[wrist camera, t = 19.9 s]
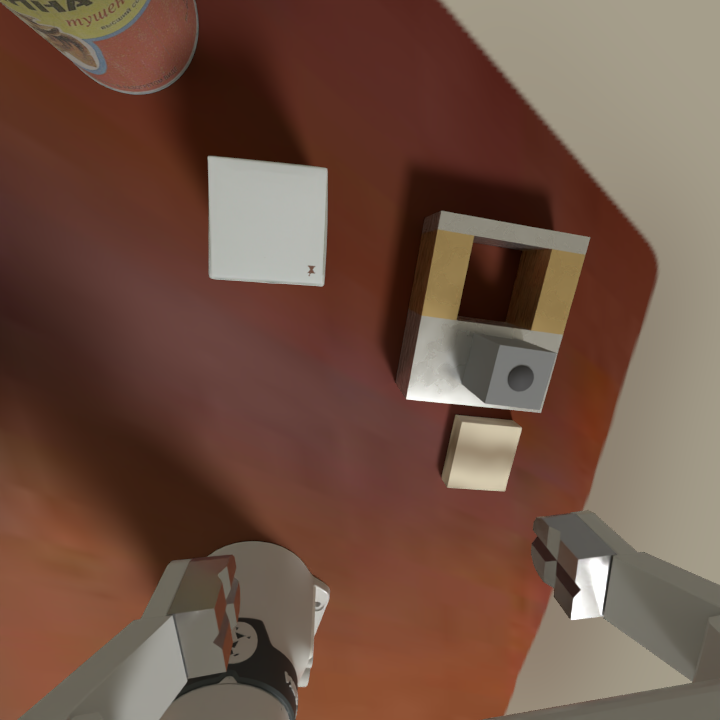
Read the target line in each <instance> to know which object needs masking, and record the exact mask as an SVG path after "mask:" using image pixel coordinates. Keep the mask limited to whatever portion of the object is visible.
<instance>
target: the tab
mask: <svg viewBox="0 0 720 720" xmlns="http://www.w3.org/2000/svg"><path fill="white" fill-rule="evenodd" d="M521 430H522V427H521V426H519V425H518V424H517V423H516V422H514V421H513V420H505V419H495V418H484V417H474V416H463V415H455V419H454V423H453V428H452V432H451V437H450V441H449V446H448V450H447V455H446V459H445V464H444V468H443V473H442V477H441V478H442V480H443V481H444V483H445V485H446V486H447V488H461V489H477V490H492V491H505V489H506V485H507V481H508V478H509V474H510V470H511V466H512V463H513V459H514V455H515V452H516V448H517V444H518V441H519V437H520V433H521Z"/></svg>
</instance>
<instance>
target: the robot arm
mask: <svg viewBox="0 0 720 720" xmlns="http://www.w3.org/2000/svg"><path fill="white" fill-rule="evenodd" d="M533 531H534V532H535V533H536V535H537V537H536V539H535V540H534V541H533V543H532V548H531V555H532V560H533V564H534V567H535V569H536V571H537V573H538V575H539V576H540V577H541V579H542V580H543V582H545V583H546V584H548V585H550V586H551V587H553V588H554V597H555V599H556V600H557V602H558V603H559V604H560V606H561V607H562V608H563V610H564V611H565V613H566V614H567V615H568V617H569V618H570V620H575V619H584V618H592V617H601V616H604V619H605V620H607V621H608V622H610V623H611V624H612V625H614V626H615V627H617V628H618V629H619V630H621V631H622V632H624V633H625V634H626V635H628V636H629V637H631V638H632V639H634V640H635V641H636V642H638V643H639V644H640V645H642V646H643V647H645V648H646V649H648V650H649V651H650V652H652V653H653V654H654V655H656V656H657V657H659V658H660V659H661V660H663V661H664V662H666V663H667V664H668V665H670V666H671V667H673V668H674V669H676V670H677V671H678V672H680V673H681V674H683V675H684V676H685V677H687V678H688V679H690V680H691V681H692V683H689V684H684V685H678V686H672V687H666V688H661V689H655V690H649V691H643V692H637V693H632V694H626V695H620V696H614V697H609V698H603V699H598V700H591V701H586V702H580V703H574V704H569V705H563V706H558V707H552V708H546V709H540V710H535V711H529V712H523V713H517V714H512V715H506V716H500V717H494V718H488V719H483V720H720V585H718V584H716V583H713V582H711V581H709V580H706V579H704V578H702V577H700V576H697V575H695V574H693V573H691V572H688V571H686V570H684V569H682V568H679V567H677V566H674V565H672V564H670V563H668V562H665V561H663V560H661V559H659V558H656V557H654V556H652V555H650V554H647V553H645V552H637V551H636V550H635V549H634V548H632V547H631V546H630V545H629V544H628V543H627V542H626V541H625V540H623V539H622V538H621V537H620V536H619V535H618V534H617V533H616V532H614V531H613V530H612V529H611V528H610V527H609V526H608V525H607V524H606V523H604V521H602V520H601V519H600V518H599V517H598V516H597V515H596V514H595V513H593V512H591V511H589V510H586V511H579V512H572V513H567V514H560V515H552V516H544V517H536V519H535V521H534V524H533ZM329 597H330V589H329V587H328V586H327V585H326V584H325V583H323V582H322V581H320V580H319V579H317V578H315V577H314V576H313V575H312V574H311V573H310V572H309V570H308V569H307V567H306V566H305V564H304V563H303V562H302V561H301V559H300V558H298V557H297V556H296V555H295V554H294V553H292V552H291V551H289V550H287V549H285V548H283V547H281V546H278V545H275V544H272V543H267V542H259V541H247V542H239V543H235V544H231V545H228V546H225V547H223V548H220V549H218V550H216V551H215V552H213V553H212V554H210V555H209V556H207V557H200V558H193V559H183V560H173V561H171V562H170V563H169V564H168V565H167V567H166V569H165V571H164V573H163V575H162V577H161V579H160V581H159V583H158V585H157V587H156V589H155V591H154V593H153V595H152V597H151V599H150V601H149V603H148V605H147V607H146V609H145V611H144V613H143V615H142V617H141V619H140V620H134V621H132V622H131V623H130V624H129V625H128V626H127V627H125V628H124V629H123V630H122V631H121V632H120V633H118V634H117V635H116V636H115V637H114V638H113V639H111V640H110V641H109V642H108V643H107V644H106V645H104V646H103V647H102V648H101V649H100V650H99V651H97V652H96V653H95V654H94V655H93V656H91V657H90V658H89V659H88V660H87V661H86V662H84V663H83V664H82V665H81V666H80V667H79V668H77V669H76V670H75V671H74V672H73V673H72V674H70V675H69V676H68V677H67V678H66V679H65V680H63V681H62V682H61V683H60V684H59V685H58V686H56V687H55V688H54V689H53V690H52V691H51V692H49V693H48V694H47V695H46V696H45V697H44V698H42V699H41V700H40V701H39V702H38V703H37V704H35V705H34V706H33V707H32V708H31V709H29V710H28V711H27V712H26V713H25V714H24V715H22V716H21V717H20V718H19V719H18V720H295V718H296V715H297V708H298V693H297V687H305V686H307V684H308V680H309V675H310V668H311V667H312V663H313V649H314V636H315V633H316V631H317V628H318V626H319V623H320V621H321V618H322V616H323V613H324V611H325V608H326V606H327V604H328V601H329Z"/></svg>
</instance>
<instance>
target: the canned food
mask: <svg viewBox="0 0 720 720" xmlns="http://www.w3.org/2000/svg"><path fill="white" fill-rule="evenodd" d="M0 2H1V3H2V4H3V5H4V6H5V7H7V8H8V9H9V10H10V11H12V12H13V13H14V14H15V15H16V16H18V17H19V18H20V19H21V20H22V21H24V22H25V23H26V24H27V25H29V26H30V27H31V28H32V29H33V30H35V31H36V32H37V33H38V34H40V35H41V36H42V37H43V38H44V39H46V40H47V41H48V42H49V43H50V44H52V45H53V46H54V47H55V48H57V49H58V50H59V51H60V52H61V53H63V54H64V55H65V56H66V57H68V58H69V59H70V60H71V61H72V62H73V63H74V64H75V65H76V66H77V67H78V68H79V69H81V70H82V71H83V72H84V73H85V74H86V75H88V76H89V77H90V78H92V79H93V80H95V81H96V82H98V83H99V84H101V85H103V86H105V87H107V88H110V89H112V90H115V91H118V92H122V93H127V94H135V95H136V94H150V93H154V92H157V91H160V90H162V89H164V88H166V87H168V86H170V85H171V84H173V83H174V82H175V81H176V80H178V79H179V78H180V77H181V75H182V74H183V73H184V72H185V70H186V69H187V68H188V66H189V64H190V62H191V60H192V58H193V56H194V53H195V50H196V45H197V41H198V30H199V23H198V12H197V7H196V2H195V0H0Z"/></svg>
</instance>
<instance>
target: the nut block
mask: <svg viewBox="0 0 720 720" xmlns="http://www.w3.org/2000/svg"><path fill="white" fill-rule="evenodd" d="M556 354H557V353H555V352H552V351H550V350H547V349H545V348H542V347H539V346H537V345H534V344H531V343H529V342H526V341H523V340H516V339H510V338H503V337H496V336H490V335H483V334H476V333H474V336H473V340H472V344H471V348H470V353H469V357H468V361H467V365H466V369H465V373H464V378H463V382H462V385H463V386H464V387H466V388H467V389H468V390H469V391H470V392H472V393H473V394H474V395H475V396H476V397H478V398H479V399H480V400H481V401H482V402H483V403H485V404H492V405H501V406H509V407H518V408H526V409H534V410H540V408H541V404H542V401H543V398H544V394H545V391H546V388H547V384H548V381H549V378H550V374H551V371H552V367H553V364H554V361H555V357H556Z"/></svg>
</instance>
